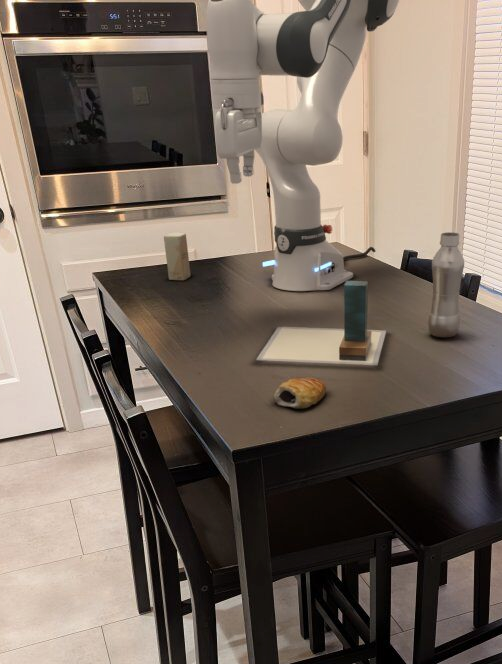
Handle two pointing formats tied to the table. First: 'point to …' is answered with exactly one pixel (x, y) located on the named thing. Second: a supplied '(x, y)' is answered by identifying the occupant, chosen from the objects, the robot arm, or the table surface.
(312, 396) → the pastry
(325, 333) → the whiteboard
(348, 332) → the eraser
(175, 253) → the box
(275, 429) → the table surface
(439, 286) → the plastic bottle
